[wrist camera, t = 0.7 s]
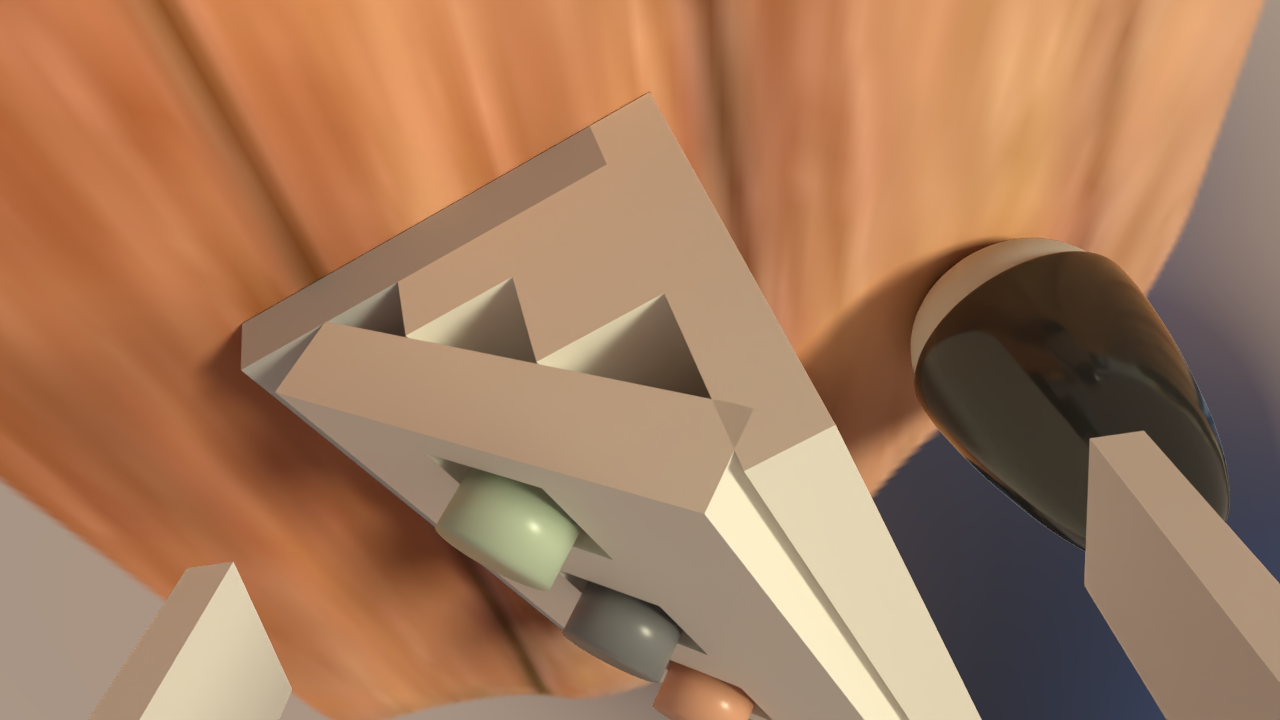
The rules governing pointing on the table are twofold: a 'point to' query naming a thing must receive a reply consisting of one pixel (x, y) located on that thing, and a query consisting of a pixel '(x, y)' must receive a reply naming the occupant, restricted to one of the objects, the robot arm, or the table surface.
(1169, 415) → the dark grey egg figure
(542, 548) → the sage button
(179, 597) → the robot arm
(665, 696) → the terracotta button
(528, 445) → the button console
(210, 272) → the table surface
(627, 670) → the charcoal button
